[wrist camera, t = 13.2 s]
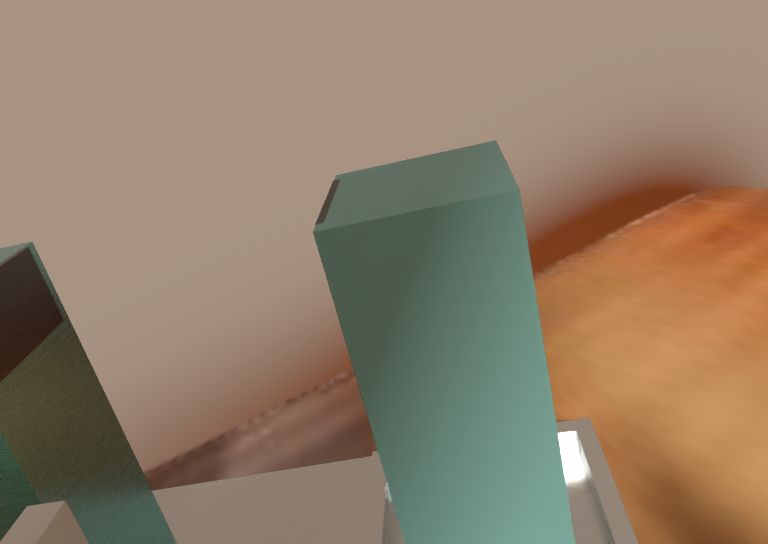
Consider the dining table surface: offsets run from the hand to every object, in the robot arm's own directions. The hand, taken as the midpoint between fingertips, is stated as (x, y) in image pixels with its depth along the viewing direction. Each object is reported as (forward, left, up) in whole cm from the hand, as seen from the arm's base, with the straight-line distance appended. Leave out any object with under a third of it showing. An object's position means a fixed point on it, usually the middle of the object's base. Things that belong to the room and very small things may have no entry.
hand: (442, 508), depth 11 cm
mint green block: (0, -7, -8) cm, 11 cm away
